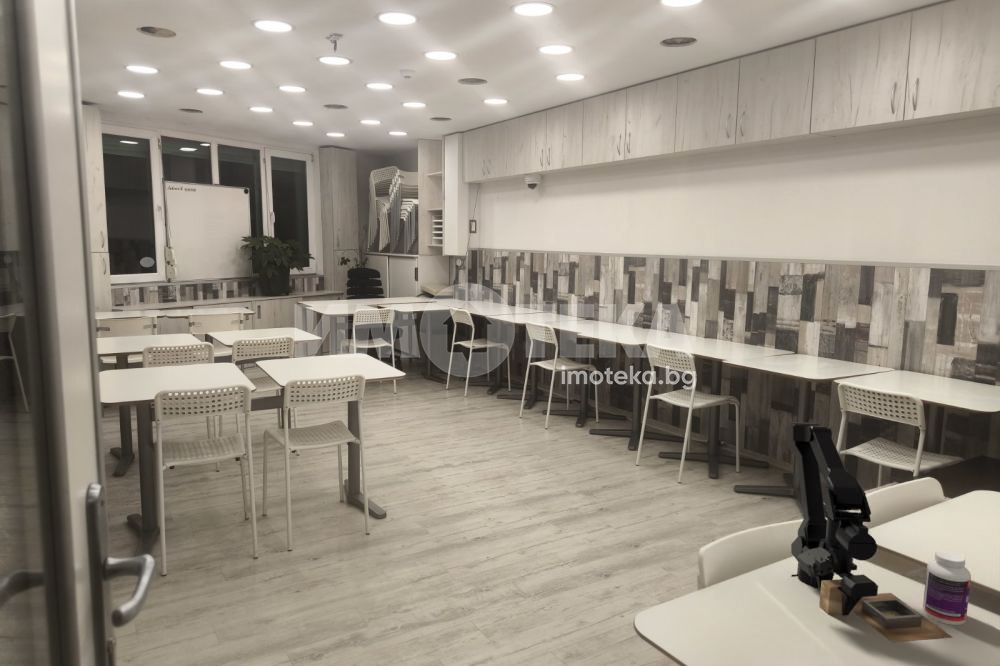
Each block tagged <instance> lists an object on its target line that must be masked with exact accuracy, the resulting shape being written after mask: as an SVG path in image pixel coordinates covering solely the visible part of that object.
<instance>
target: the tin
mask: <svg viewBox="0 0 1000 666" xmlns="http://www.w3.org/2000/svg"><path fill="white" fill-rule="evenodd" d="M897 598H898V597H897ZM897 598H891V599H878V600H864V601H862V610H861V611H862V612H864V613H865V614H866V615H867V616H869V617H870V618H871V619H872V620H874V621H875V622H876V623H877V624H879V625H880V626H881V627H882V628H884V629H885V630H888V629H900V628H913V627H921V621H922V616H921V615H922V614H921V613H920V614H921V615H920V614H918V613H917V612H918V611H917V612H915V611H914V610H915V609H914V608H913V609H914V610H913V609H911V608H910V607H911V606H910V607H908V606H907V605H908V604H907V603H906V604H907V605H906V604H904V603H905V602H904V601H903V602H904V603H903V602H901V601H900V600H901V599H900V598H899V599H900V600H899V599H897Z"/></svg>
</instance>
